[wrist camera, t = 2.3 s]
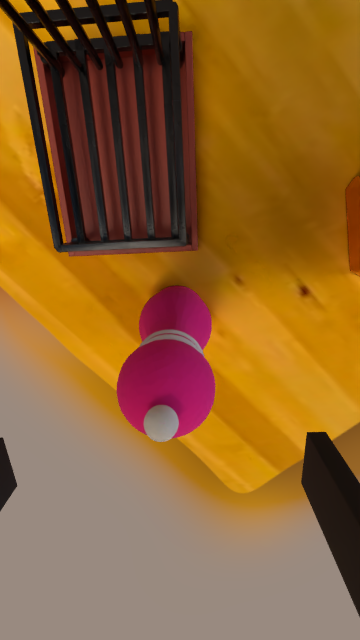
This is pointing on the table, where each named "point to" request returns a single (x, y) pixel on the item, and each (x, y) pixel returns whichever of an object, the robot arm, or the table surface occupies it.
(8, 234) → the table surface
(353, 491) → the robot arm
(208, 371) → the pepper mill
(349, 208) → the whiskey bottle
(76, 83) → the dish rack
